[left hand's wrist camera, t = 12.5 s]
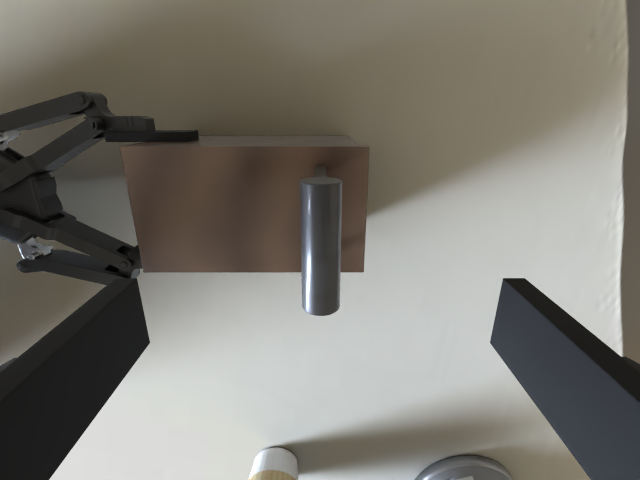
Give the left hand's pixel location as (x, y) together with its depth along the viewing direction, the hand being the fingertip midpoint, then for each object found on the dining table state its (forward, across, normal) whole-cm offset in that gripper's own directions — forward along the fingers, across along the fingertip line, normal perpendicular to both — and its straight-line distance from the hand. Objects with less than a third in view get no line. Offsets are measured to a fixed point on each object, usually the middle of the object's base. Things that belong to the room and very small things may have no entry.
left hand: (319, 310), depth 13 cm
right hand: (+19, +10, 0) cm, 22 cm away
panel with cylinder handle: (+14, +5, 0) cm, 15 cm away
